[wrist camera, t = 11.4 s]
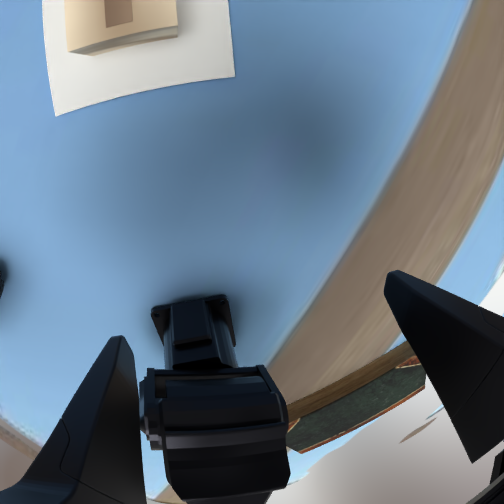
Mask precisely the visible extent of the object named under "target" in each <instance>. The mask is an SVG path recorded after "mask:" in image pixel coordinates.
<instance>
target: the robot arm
mask: <svg viewBox="0 0 504 504" xmlns="http://www.w3.org/2000/svg"><path fill="white" fill-rule="evenodd" d="M384 296H385V298H386V300H387V302H388V304H389V306H390V308H391V310H392V312H393V315H394V317H395V319H396V321H397V323H398V325H399V327H400V329H401V331H402V333H403V334H404V336H405V338H406V339H407V341H408V343H409V344H410V346H411V348H412V350H413V351H414V353H415V355H416V356H417V358H418V360H419V362H420V363H421V365H422V367H423V369H424V370H425V372H426V374H427V376H428V377H429V379H430V381H431V383H432V385H433V387H434V388H435V390H436V392H437V394H438V396H439V398H440V400H441V401H442V404H443V405H444V407H445V409H446V411H447V413H448V415H449V417H450V419H451V421H452V423H453V425H454V427H455V429H456V431H457V433H458V435H459V438H460V440H461V442H462V444H463V446H464V448H465V450H466V452H467V455H468V457H469V459H470V461H471V463H474V462H475V461H477V460H478V459H479V458H481V457H482V456H483V455H485V454H486V453H487V452H489V451H490V450H491V449H492V448H494V447H495V446H496V445H498V444H499V443H500V442H501V441H502V440H503V442H504V317H502V316H500V315H498V314H495V313H493V312H491V311H488V310H487V309H484V308H482V307H480V306H479V307H478V305H476V304H474V303H472V302H469V301H467V300H465V299H463V298H461V297H459V296H456V295H454V294H452V293H450V292H448V291H445V290H443V289H441V288H439V287H436V286H434V285H432V284H430V283H427V282H425V281H423V280H421V279H418V278H416V277H414V276H411V275H409V274H407V273H405V272H402V271H400V270H395V271H392V272H389V273H388V274H387V277H386V282H385V287H384ZM221 300H224V301H223V302H220V301H221ZM155 313H159V314H155ZM151 317H152V320H153V322H154V324H155V327H156V329H157V332H158V334H159V336H160V339H161V341H162V343H163V346H164V358H165V369H154V368H147V377H144V380H143V381H141V382H139V394H140V398H139V394H138V387H137V379H136V370H135V361H134V355H133V352H132V350H131V348H130V346H129V345H128V343H127V341H126V339H125V337H124V336H122V335H119V336H113V337H111V338H110V339H109V340H108V342H107V344H106V345H105V347H104V348H103V350H102V351H101V353H100V354H99V356H98V357H97V359H96V361H95V362H94V364H93V365H92V367H91V368H90V370H89V372H88V373H87V375H86V377H85V378H84V380H83V381H82V383H81V385H80V386H79V388H78V390H77V391H76V393H75V395H74V396H73V398H72V400H71V401H70V403H69V405H68V406H67V408H66V410H65V411H64V413H63V415H62V418H61V419H60V420H59V422H58V423H57V425H56V427H55V429H54V430H53V432H52V434H51V435H50V437H49V439H48V440H47V442H46V443H45V445H44V446H43V448H42V450H41V451H40V452H39V454H38V455H37V457H36V458H35V460H34V461H33V463H32V464H31V466H30V467H29V469H28V470H27V472H26V473H25V475H24V476H23V477H22V478H21V480H20V481H19V482H17V483H16V484H15V485H13V486H12V487H9V488H7V489H5V490H3V491H0V504H147V502H146V494H145V485H144V475H143V464H142V451H141V434H140V430H141V431H142V432H143V433H145V434H146V436H147V440H150V446H151V450H163V456H164V464H165V472H166V478H167V481H168V482H169V484H170V485H171V486H172V488H173V490H174V491H175V492H176V494H177V495H178V496H179V497H180V499H181V500H182V501H184V502H185V501H186V503H187V504H266V502H267V500H268V499H269V497H270V495H271V494H272V492H273V491H274V490H279V489H284V488H285V487H286V486H287V483H288V480H289V477H290V474H291V473H290V467H289V462H288V456H287V450H286V436H287V433H288V429H289V416H288V410H287V406H286V403H285V400H284V398H283V396H282V394H281V393H280V391H279V389H278V388H277V386H276V385H275V383H274V381H273V380H272V378H271V377H270V375H269V373H268V372H267V370H266V368H265V367H264V365H256V366H254V367H238V364H237V360H236V356H235V352H234V348H233V347H235V345H236V342H235V336H234V331H233V325H232V320H231V314H230V308H229V303H228V298H227V296H225V295H218V296H213V297H208V298H203V299H198V300H193V301H187V302H182V303H177V304H172V305H166V306H161V307H155V308H153V309H152V310H151ZM466 504H504V449H503V450H502V451H501V452H500V453H499V454H498V455H497V456H496V457H495V461H494V467H493V471H492V475H491V480H490V485H489V486H488V487H487V488H485V489H484V490H483V491H482V492H480V493H479V494H478V495H477V496H475V497H474V498H473V499H471V500H470V501H469V502H468V503H466Z"/></svg>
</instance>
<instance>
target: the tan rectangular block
mask: <svg viewBox="0 0 504 504" xmlns="http://www.w3.org/2000/svg"><path fill="white" fill-rule="evenodd" d="M64 9H65V27H66V40H67V51H68V52H70V53H76V54H82V55H88V56H96V55H99V54H103V53H106V52H110V51H114V50H118V49H122V48H126V47H130V46H134V45H139V44H144V43H149V42H154V41H159V40H165V39H171V38H177V37H178V21H177V9H176V0H64Z"/></svg>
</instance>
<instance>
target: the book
mask: <svg viewBox="0 0 504 504" xmlns="http://www.w3.org/2000/svg"><path fill="white" fill-rule="evenodd" d="M425 379H426V372H425V370H424V369H423V367H422V365H421V363H420V362H419V360H418V358H417V356H416V355H415V353H414V351H413V350H412V348H411V346H410V344H409V343H408V341H405V342H404V343H402V344H401V345H399V346H397V347H396V348H394V349H393V350H391V351H389V352H388V353H386V354H385V355H383V356H381V357H380V358H378V359H376V360H375V361H373V362H371V363H369V364H368V365H366V366H364V367H362V368H361V369H359V370H357V371H355V372H353V373H352V374H350V375H348V376H346V377H344V378H342V379H341V380H339V381H337V382H335V383H333V384H331V385H329V386H327V387H325V388H323V389H321V390H319V391H317V392H315V393H313V394H311V395H309V396H307V397H305V398H303V399H300V400H298V401H296V402H294V403H292V404H290V405H287V410H288V416H289V429H288V433H287V436H286V446H287V447H289V448H291V449H293V450H295V451H297V452H299V453H300V454H303V453H305V452H308V451H310V450H313V449H315V448H317V447H319V446H322V445H324V444H326V443H328V442H330V441H333V440H335V439H337V438H339V437H341V436H343V435H345V434H347V433H349V432H351V431H353V430H355V429H357V428H359V427H361V426H363V425H365V424H367V423H368V422H370V421H372V420H374V419H376V418H378V417H379V416H381V415H383V414H385V413H386V412H388V411H390V410H392V409H393V408H395V407H397V406H398V405H400V404H402V403H403V402H405V401H406V400H408V399H410V398H411V397H413V396H414V395H416V394H417V393H419V392H420V391H422V390H423V389H425Z"/></svg>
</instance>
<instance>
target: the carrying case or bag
mask: <svg viewBox="0 0 504 504" xmlns="http://www.w3.org/2000/svg"><path fill="white" fill-rule="evenodd" d="M0 276H1V271H0ZM3 288H4V282H3V280H2V279H1V277H0V297H1V295H2V292H3Z"/></svg>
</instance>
